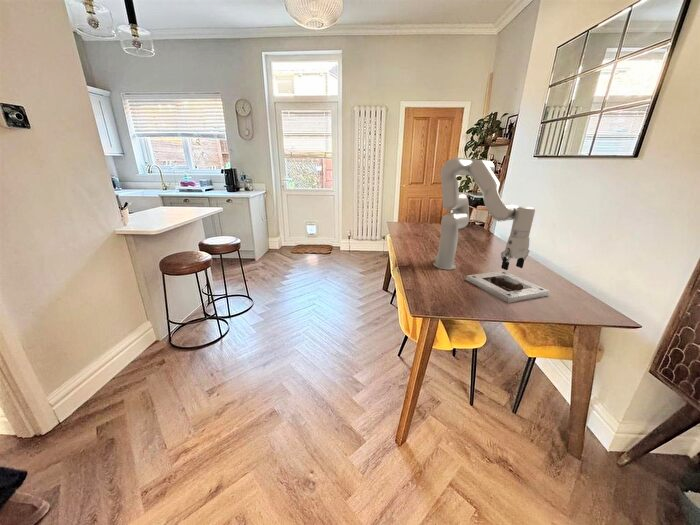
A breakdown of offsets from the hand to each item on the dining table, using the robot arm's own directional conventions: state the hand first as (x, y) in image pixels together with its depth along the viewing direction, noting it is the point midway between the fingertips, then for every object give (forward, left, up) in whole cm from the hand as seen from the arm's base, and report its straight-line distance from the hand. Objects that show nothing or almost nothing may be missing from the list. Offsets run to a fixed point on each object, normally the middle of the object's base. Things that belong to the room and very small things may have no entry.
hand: (511, 268), depth 132 cm
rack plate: (-1, 0, -11) cm, 11 cm away
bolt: (0, -1, -11) cm, 11 cm away
